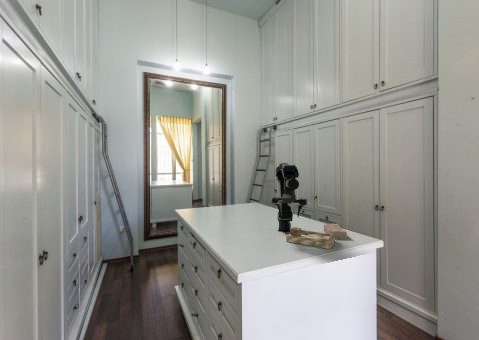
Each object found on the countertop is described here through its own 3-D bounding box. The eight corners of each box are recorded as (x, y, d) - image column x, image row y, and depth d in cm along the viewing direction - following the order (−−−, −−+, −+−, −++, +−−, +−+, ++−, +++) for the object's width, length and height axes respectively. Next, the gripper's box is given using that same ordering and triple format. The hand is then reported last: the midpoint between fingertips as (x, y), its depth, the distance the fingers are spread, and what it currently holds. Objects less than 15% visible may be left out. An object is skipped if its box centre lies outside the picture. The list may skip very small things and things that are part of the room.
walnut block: (290, 236, 123) (290, 228, 123) (293, 234, 127) (293, 227, 127) (298, 237, 121) (298, 230, 121) (301, 235, 125) (301, 228, 124)
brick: (347, 239, 126) (347, 231, 126) (331, 239, 127) (331, 230, 127) (337, 231, 143) (337, 223, 143) (323, 231, 143) (323, 223, 143)
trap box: (286, 241, 123) (286, 232, 123) (294, 235, 134) (294, 227, 134) (330, 248, 111) (330, 239, 111) (334, 241, 122) (334, 232, 122)
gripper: (268, 188, 123) (268, 218, 123) (305, 190, 116) (305, 221, 116) (274, 186, 133) (274, 214, 134) (307, 188, 126) (307, 216, 126)
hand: (289, 216), depth 127 cm, fingers open, 9 cm apart
